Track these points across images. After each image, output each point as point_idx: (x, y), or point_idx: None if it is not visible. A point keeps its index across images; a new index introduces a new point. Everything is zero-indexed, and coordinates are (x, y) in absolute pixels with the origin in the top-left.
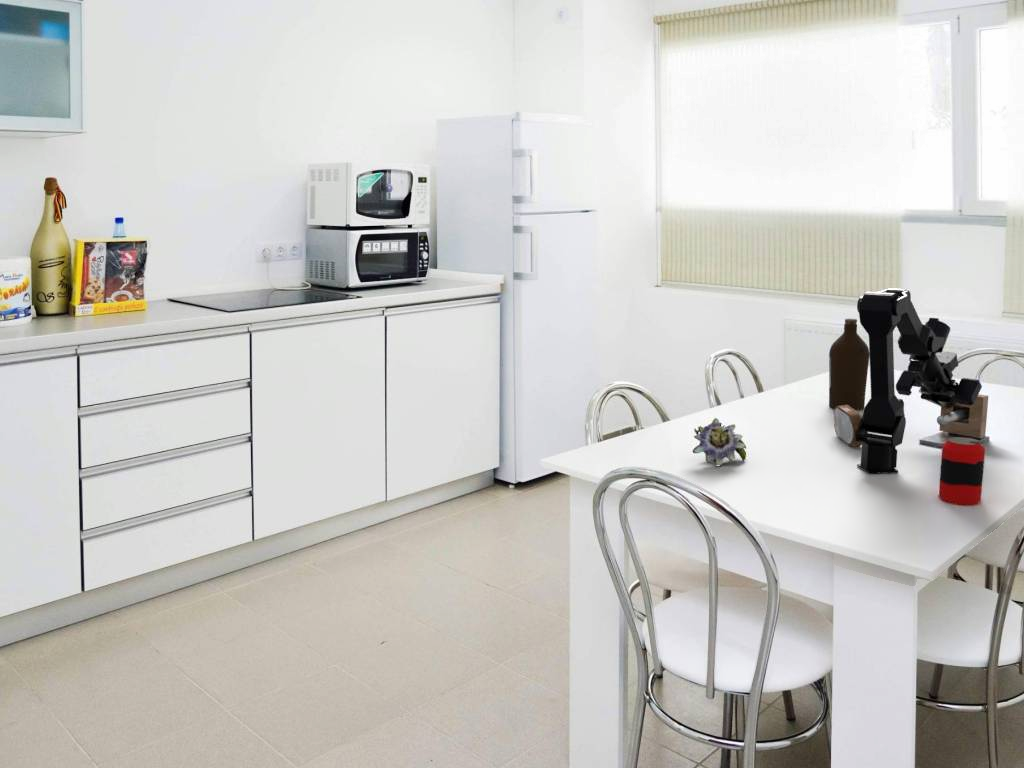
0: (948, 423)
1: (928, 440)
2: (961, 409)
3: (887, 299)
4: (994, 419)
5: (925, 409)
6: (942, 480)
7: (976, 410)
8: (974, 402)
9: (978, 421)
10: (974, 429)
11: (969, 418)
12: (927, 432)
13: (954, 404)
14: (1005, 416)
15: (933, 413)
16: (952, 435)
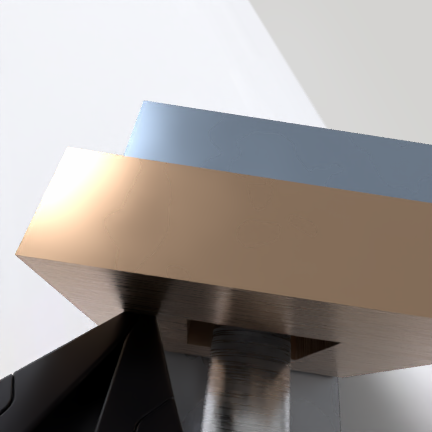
0: None
1: None
2: (257, 332)
3: None
4: (217, 33)
5: (16, 13)
6: None
7: (394, 354)
8: (415, 339)
9: (370, 366)
10: (324, 368)
11: (310, 355)
12: (59, 294)
13: (196, 317)
14: (227, 4)
15: (45, 38)
16: (195, 364)
